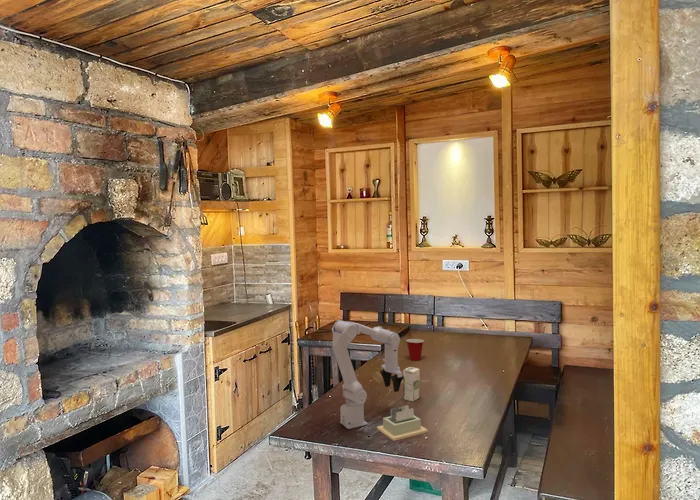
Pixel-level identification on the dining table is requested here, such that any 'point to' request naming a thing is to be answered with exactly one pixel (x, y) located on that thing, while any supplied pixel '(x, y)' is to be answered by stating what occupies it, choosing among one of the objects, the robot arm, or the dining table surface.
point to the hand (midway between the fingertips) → (392, 388)
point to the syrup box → (411, 384)
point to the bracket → (402, 414)
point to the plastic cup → (415, 348)
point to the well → (401, 428)
